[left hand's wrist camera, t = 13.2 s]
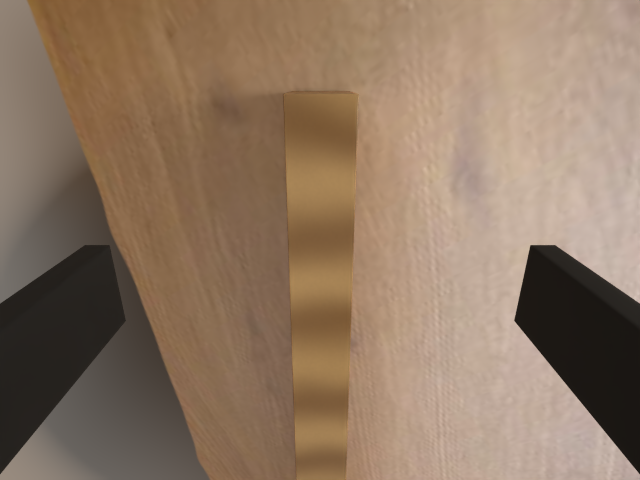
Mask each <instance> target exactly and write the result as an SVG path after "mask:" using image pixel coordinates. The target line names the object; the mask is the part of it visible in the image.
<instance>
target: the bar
mask: <svg viewBox="0 0 640 480" xmlns="http://www.w3.org/2000/svg"><path fill="white" fill-rule="evenodd" d="M283 102H284V132H285V162H286V191H287V221H288V251H289V281H290V310H291V340H292V370H293V400H294V429H295V459H296V480H346V459H347V428H348V398H349V368H350V338H351V307H352V277H353V247H354V216H355V186H356V156H357V126H358V94H357V93H353V92H350V91H292V92H289V93H285V94H283Z"/></svg>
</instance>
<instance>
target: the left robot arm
mask: <svg viewBox="0 0 640 480" xmlns="http://www.w3.org/2000/svg"><path fill="white" fill-rule="evenodd" d="M125 321H126V320H125V315H124V311H123V306H122V302H121V297H120V292H119V287H118V283H117V278H116V273H115V269H114V264H113V260H112V255H111V250H110V246H109V245H85V246H83V247H82V248H80V249H79V250H77V251H76V252H75V253H73V254H72V255H70V256H69V257H67V258H66V259H64V260H63V261H61V262H60V263H59V264H57V265H56V266H54V267H53V268H51V269H50V270H48V271H47V272H46V273H44V274H43V275H41V276H40V277H38V278H37V279H35V280H34V281H32V282H31V283H30V284H28V285H27V286H25V287H24V288H22V289H21V290H19V291H18V292H16V293H15V294H14V295H12V296H11V297H9V298H8V299H6V300H5V301H3V302H2V303H1V304H0V474H1V473H2V471H3V470H4V469H5V468H6V466H7V465H8V464H9V463H10V462H11V460H12V459H13V458H14V457H15V455H16V454H17V453H18V452H19V451H20V449H21V448H22V447H23V445H24V444H25V443H26V442H27V441H28V440H29V438H30V437H31V436H32V435H33V433H34V432H35V431H36V430H37V429H38V427H39V426H40V425H41V424H42V422H43V421H44V420H45V419H46V417H47V416H48V415H49V414H50V413H51V411H52V410H53V409H54V408H55V406H56V405H57V404H58V403H59V401H60V400H61V399H62V398H63V397H64V395H65V394H66V393H67V392H68V391H69V389H70V388H71V387H72V386H73V384H74V383H75V382H76V381H77V380H78V378H79V377H80V376H81V375H82V373H83V372H84V371H85V370H86V369H87V367H88V366H89V365H90V364H91V362H92V361H93V360H94V359H95V358H96V356H97V355H98V354H99V353H100V351H101V350H102V349H103V348H104V347H105V345H106V344H107V343H108V342H109V340H110V339H111V338H112V337H113V336H114V334H115V333H116V332H117V331H118V329H119V328H120V327H121V326H122V325H123V323H124V322H125ZM514 321H515V322H516V323H517V325H518V326H519V327H520V328H521V329H522V331H523V332H524V333H525V334H526V336H527V337H528V338H529V339H530V340H531V342H532V343H533V344H534V345H535V347H536V348H537V349H538V350H539V351H540V353H541V354H542V355H543V356H544V358H545V359H546V360H547V361H548V362H549V364H550V365H551V366H552V367H553V369H554V370H555V371H556V372H557V373H558V375H559V376H560V377H561V378H562V380H563V381H564V382H565V383H566V384H567V386H568V387H569V388H570V389H571V391H572V392H573V393H574V394H575V395H576V397H577V398H578V399H579V400H580V402H581V403H582V404H583V405H584V406H585V408H586V409H587V410H588V411H589V413H590V414H591V415H592V416H593V418H594V419H595V420H596V421H597V422H598V424H599V425H600V426H601V427H602V429H603V430H604V431H605V432H606V433H607V435H608V436H609V437H610V438H611V440H612V441H613V442H614V443H615V444H616V446H617V447H618V448H619V449H620V451H621V452H622V453H623V454H624V455H625V457H626V458H627V459H628V460H629V462H630V463H631V464H632V465H633V466H634V468H635V469H636V470H637V471H638V473H639V474H640V304H639V303H638V302H637V301H635V300H634V299H632V298H631V297H629V296H628V295H626V294H625V293H624V292H622V291H621V290H619V289H618V288H616V287H615V286H613V285H612V284H610V283H609V282H608V281H606V280H605V279H603V278H602V277H600V276H599V275H597V274H596V273H595V272H593V271H592V270H590V269H589V268H587V267H586V266H584V265H583V264H581V263H580V262H579V261H577V260H576V259H574V258H573V257H571V256H570V255H568V254H567V253H566V252H564V251H563V250H561V249H560V248H558V247H557V246H555V245H530V250H529V255H528V259H527V264H526V269H525V273H524V278H523V283H522V287H521V292H520V297H519V301H518V306H517V311H516V315H515V320H514Z"/></svg>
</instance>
